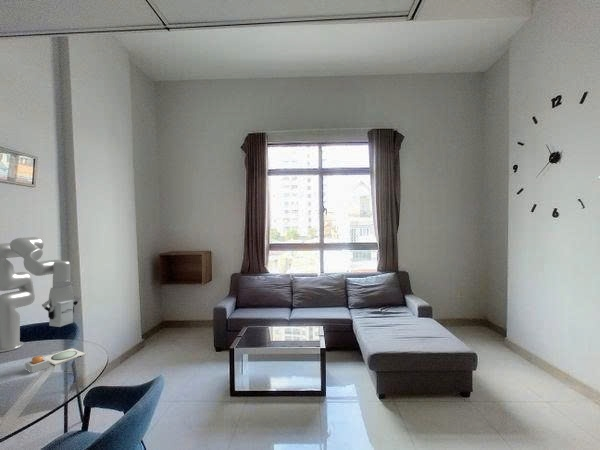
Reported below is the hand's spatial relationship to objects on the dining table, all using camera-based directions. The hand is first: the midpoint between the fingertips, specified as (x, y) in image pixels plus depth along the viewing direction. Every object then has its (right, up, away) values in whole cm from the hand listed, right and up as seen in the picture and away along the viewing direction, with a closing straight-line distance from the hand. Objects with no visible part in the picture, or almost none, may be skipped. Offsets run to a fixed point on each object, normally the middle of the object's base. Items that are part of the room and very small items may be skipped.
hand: (61, 316), depth 163 cm
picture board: (+1, -22, +1) cm, 22 cm away
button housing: (-3, -22, -12) cm, 25 cm away
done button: (-3, -20, -12) cm, 23 cm away
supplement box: (0, -5, 0) cm, 5 cm away
